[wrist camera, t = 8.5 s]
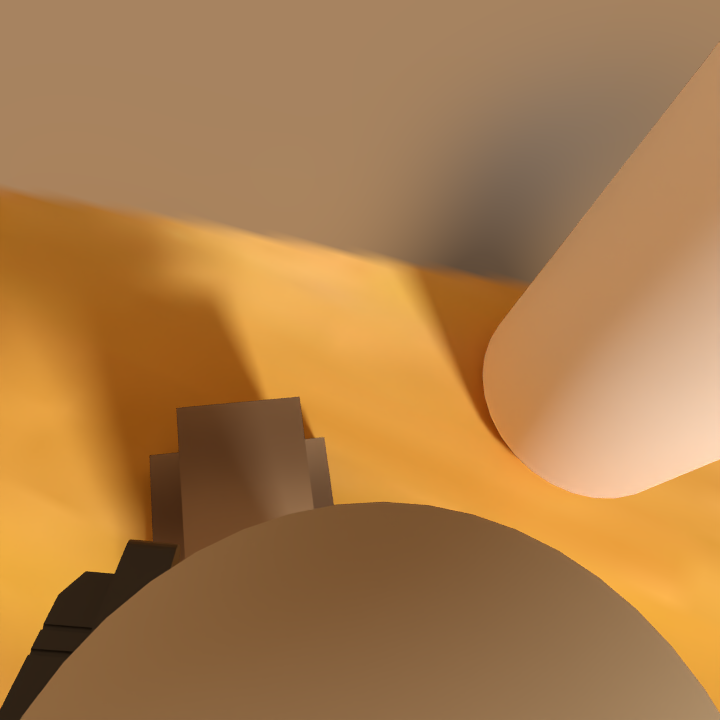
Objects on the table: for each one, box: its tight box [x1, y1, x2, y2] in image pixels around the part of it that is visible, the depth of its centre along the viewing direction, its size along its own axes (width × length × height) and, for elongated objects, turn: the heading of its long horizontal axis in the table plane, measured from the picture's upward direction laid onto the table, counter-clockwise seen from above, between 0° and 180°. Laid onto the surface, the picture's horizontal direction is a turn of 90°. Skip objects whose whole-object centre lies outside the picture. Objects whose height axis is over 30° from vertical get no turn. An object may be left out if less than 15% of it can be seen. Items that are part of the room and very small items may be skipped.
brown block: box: [150, 397, 334, 563], centre depth 19 cm, size 16×6×6 cm, turn 9°
